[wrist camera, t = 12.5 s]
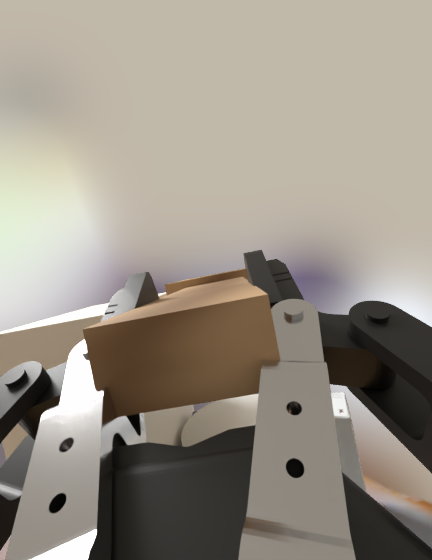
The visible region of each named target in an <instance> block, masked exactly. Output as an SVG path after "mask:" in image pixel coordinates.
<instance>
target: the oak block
mask: <svg viewBox="0 0 432 560" xmlns="http://www.w3.org/2000/svg"><path fill="white" fill-rule="evenodd" d="M165 289H166V294H167V296H164V297H162V298H159V299H158V300H155V301H153V302H150V303H148V304H145V305H143V306H141V307H138V308H136V309H132V310H130V311H127V312H125V313H122V314H120V315H117V316H115V317H112V318H110V319H107V320H105V321H102V322H100V323H97V324H95V325H92V326H90V327H87V328H85V329H83V334H84V339H85V343H86V348H87V353H88V358H89V362H90V367H91V372H92V377H93V381H94V386H95V391H97V390H100V389H102V388H105V387H108V390H109V393H110V396H111V398H112V401H113V404H114V407H115V410H116V413H117V416H118V417H122V416H128V415H134V414H140V413H146V412H152V411H158V410H164V409H170V408H176V407H182V406H188V405H194V404H199V403H205V402H211V401H217V400H223V399H229V398H235V397H241V396H247V395H253V394H259V385H260V375H261V365H262V361H263V360H280V354H279V349H278V344H277V339H276V333H275V328H274V323H273V318H272V313H271V307H270V302H269V297H268V294H267V293H265V292H264V291H263V290H261V289H260V288H258V287H257V286H253V285H251V284H250V283H249V282H248V279H247V273H246V268H244V269H239V270H234V271H229V272H223V273H218V274H213V275H208V276H203V277H198V278H193V279H188V280H183V281H179V282H175V283H170V284H165Z"/></svg>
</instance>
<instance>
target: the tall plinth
mask: <svg viewBox="0 0 432 560" xmlns="http://www.w3.org/2000/svg"><path fill="white" fill-rule="evenodd" d="M158 296H159V298H162V297H164V296H167V294H166V292H165V293H160V294H158ZM108 304H109V303H107V304H101V305H96V306H91V307H88V308H84V309H81V310H77V311H74V312H70V313H66V314H63V315H59V316H55V317H52V318H49V319H45V320H41V321H38V322H34V323H31V324H27V325H23V326H20V327H16V328H13V329H9V330H6V331H2V332H0V377H2V376H3V375H4V374H5V373H6V372H8V371H9V370H11V369H12V368H14V367H16V366H18V365H20V364H22V363H25V362H29V361H36V362H39V363H40V364H41V365H42V366H43V368H44V369H45V370H48V369H51V368H53V367H55V366H58V365H60V364H63V363H65V362H67V361H68V358H69V355H70V353H71V351H72V350H73V349H74V348H75V347H76V346H77V345H78V344H79V343H80V342H82V341H83V340H85V339H84V334H83V329H85V328H87V327H90V326H92V325H95V324H97V323H100V322H101V320H102V318H103V315H105V311H106V309H107V308H108ZM193 412H194V406H193V405H188V406H182V407H176V408H170V409H164V410H158V411H152V412H146V413H144V421H145V431H146V441H147V442H150V443H158V444H166V445H174V446H182V441H181V434H182V430H183V428H184V426H185V424H186V422H187V421H188V420H189V419H190V417H191V416H192V413H193ZM27 434H28V433H27V432H26V431H25V430H24V429H23V428H22V427H21V426H20V425H19V424H18V423H17V425H16V426H15V427H14V428H13V429H12V430H11V432H10V433H9V434H8V435H7V436H6V437H5V439H4V440H3V441H2V443H3V448H4V453H5V457H6V460H7V459H8V458H9V457H10V455H11V454H12V453H13V452H14V450H15V449H16V448H17V447H18V445H19V444H20V443H21V442H22V441H23V439H24V438H25V437H26V436H27ZM182 447H183V446H182Z"/></svg>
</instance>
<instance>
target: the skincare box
mask: <svg viewBox="0 0 432 560" xmlns="http://www.w3.org/2000/svg"><path fill="white" fill-rule="evenodd" d="M331 397H332V405H333V412H334V419H335V426H336V434H337V441H338V448H339V456H340V463H341V470H342V472H343V473H344V474H345V475H346V476H348V477H349V478H350V479H351V480H352V481H353V482H355V483H356V484H357V485H358V486H359V487H360V488H362V489H363V490H364V491H365V492H366V487H365V482H364V478H363V473H362V469H361V464H360V459H359V454H358V450H357V445H356V440H355V435H354V430H353V425H352V420H351V416H350V412H349V407H348V403H347V400H346V396H345V393H344V392H342V393H331ZM366 493H367V492H366Z"/></svg>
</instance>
